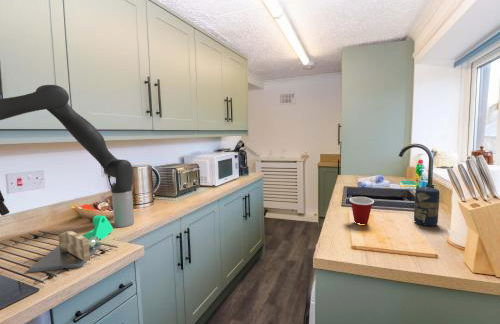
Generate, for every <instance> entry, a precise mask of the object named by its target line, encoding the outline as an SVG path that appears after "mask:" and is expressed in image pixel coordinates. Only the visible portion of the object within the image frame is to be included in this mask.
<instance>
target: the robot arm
mask: <svg viewBox="0 0 500 324" xmlns="http://www.w3.org/2000/svg"><path fill="white" fill-rule="evenodd" d="M69 100H70V95H69V93H68V91H67V90H66V89H65V88H64V87H61V86H60V85H56V84H45V85H44V84H43V85H41V86H38V87H37V88H36V89H35V91H34V92H30V93H26V94H21V95H18V96H11V97H6V98H5V97H4V98H0V121H2V120H7V119H11V118H14V117H16V116H20V115H23V114H28V113H32V112H36V111H37V112H39V111H43V110H46V111H48V112H49V113H50V114H51V115H52V116H53V117H55V118H56V119H57V120H58V121H59V122H60V123H61V124H62V126H64V127H65V129H66V130H67V131H68V132H69V134H70V135H71V136H72V137H73V138H74V139H75V140H76V141H77V143H79V144H80V145H81V147H83V148H84V149H85V150H86V151H87V152H88V153H89V154H90V155H91V156H92V157H93V158H94V159H95V160H96V161H97V162H98V163H99V164H100V166H101V167H102V168H103V169H104V171H105V172H106V174H107V175H108V176H110V177H112V178H115V184H114V185H112V186H111V189H110V191H111V192H110V193H111V201H112V213H113V225H114V227H116V228H125V227H130V226H132V225H134V223H135V215H134V212H135V211H134V201H133V189H132V188H133V184H134V175H133V174H134V173H133V171H134V170H133V165H132V163H131V162H130V161H129V160H127V159H118V158H116V156H114V155H113V154H112V153H111V152H110V151H109V148H107V147H108V146H107V143H106V141H105V138H104V136H103V135H102V134H101V133H100V131H99V130H98V129H97V128H96V127H95V126H94V125H93V124H92V123H91V122H89V120H87V119H86V118H84V117H83V116H81V115H80V114H79V113H77V112H76V110H74V109H73V108H72V107H71V106H70V104H69ZM8 214H10V210H9V208H8V207H7V206H6V204H5V198H4V196H3V194H2V191H1V190H0V216H5V215H8Z"/></svg>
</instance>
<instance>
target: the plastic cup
mask: <svg viewBox="0 0 500 324" xmlns="http://www.w3.org/2000/svg"><path fill="white" fill-rule="evenodd" d="M349 202H350V204H351V205H350V206H351V209H352V210H351V211H352V216H353V221H355V222H356V223H360V224H367V225H368V224H369V220H370V215H371V210H372V207H373V204H374V203H375V200H374V199H372V198H370V197H366V196H353V197H350V198H349ZM355 222H354V223H355Z"/></svg>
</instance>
